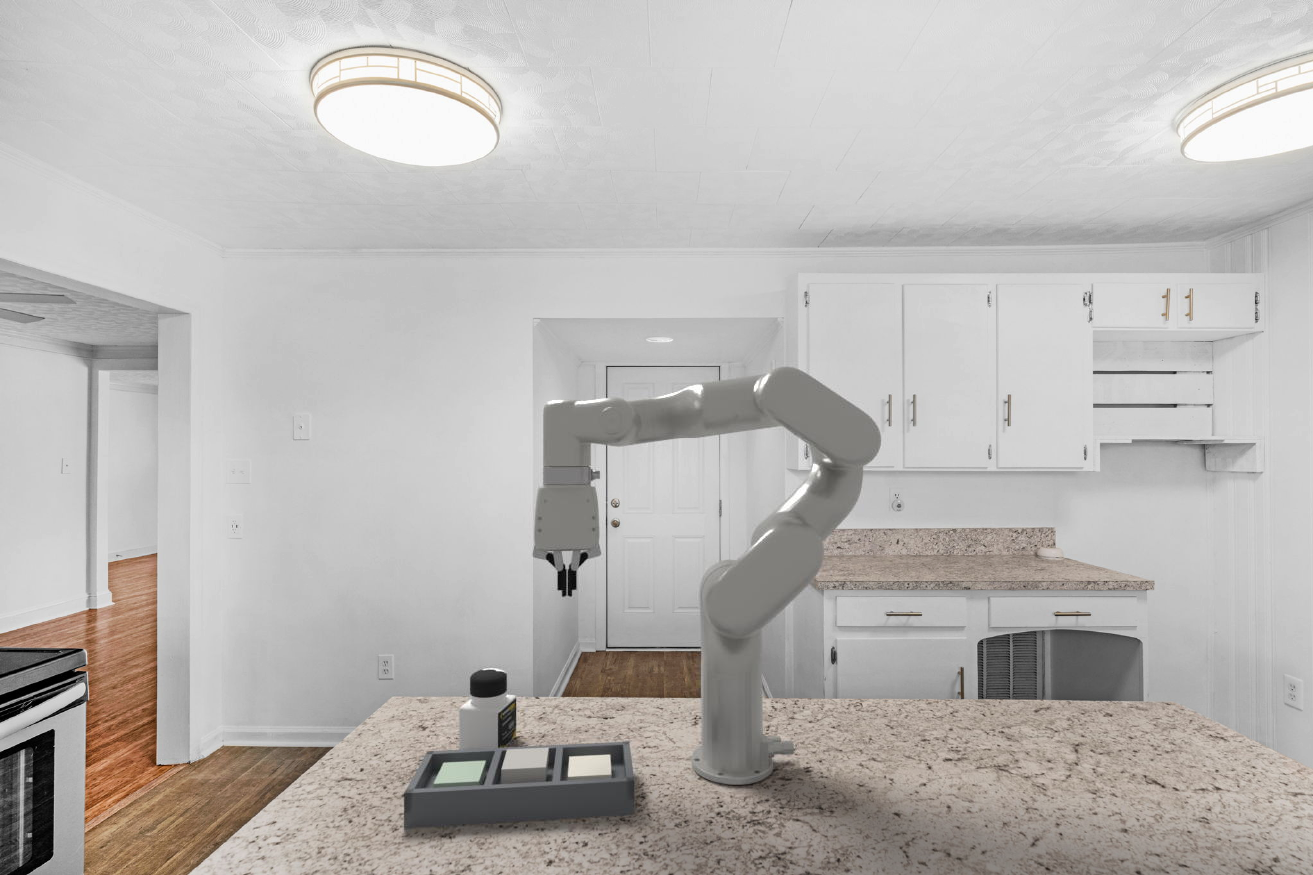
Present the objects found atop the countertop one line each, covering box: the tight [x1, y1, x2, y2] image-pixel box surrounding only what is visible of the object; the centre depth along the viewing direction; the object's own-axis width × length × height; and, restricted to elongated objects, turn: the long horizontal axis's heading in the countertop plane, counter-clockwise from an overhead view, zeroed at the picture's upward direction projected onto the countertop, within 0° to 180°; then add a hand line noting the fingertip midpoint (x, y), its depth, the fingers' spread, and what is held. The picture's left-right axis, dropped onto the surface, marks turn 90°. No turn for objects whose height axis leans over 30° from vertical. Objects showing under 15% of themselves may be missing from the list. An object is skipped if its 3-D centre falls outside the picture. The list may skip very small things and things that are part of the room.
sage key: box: [433, 761, 486, 788], centre depth 90 cm, size 6×6×2 cm
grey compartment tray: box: [403, 741, 636, 829], centre depth 91 cm, size 30×12×4 cm, turn 96°
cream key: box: [568, 755, 611, 781], centre depth 92 cm, size 6×6×2 cm
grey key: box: [501, 748, 549, 784], centre depth 91 cm, size 6×6×2 cm
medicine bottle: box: [458, 667, 517, 750], centre depth 108 cm, size 7×7×12 cm
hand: (567, 594), depth 101 cm, fingers closed
